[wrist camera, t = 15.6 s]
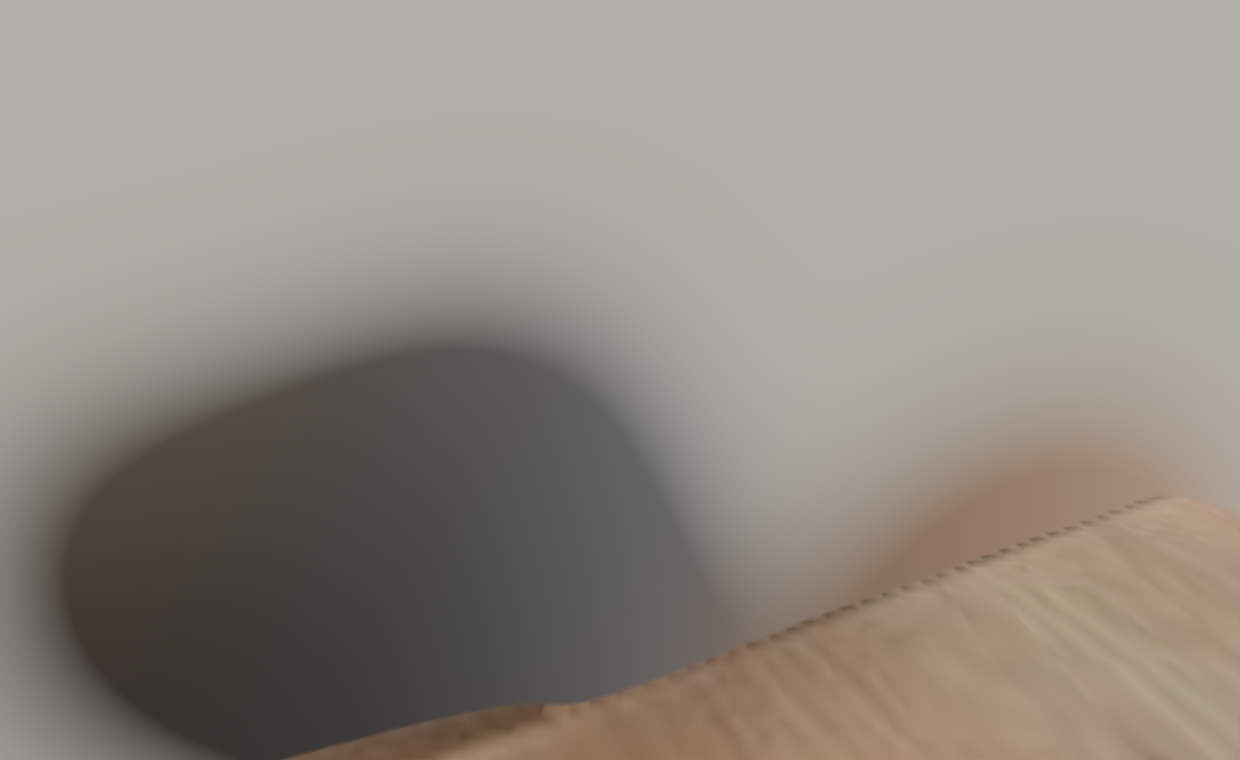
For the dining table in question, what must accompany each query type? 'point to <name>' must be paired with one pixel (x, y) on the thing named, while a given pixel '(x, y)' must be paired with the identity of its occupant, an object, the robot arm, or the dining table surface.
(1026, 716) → the dining table surface
